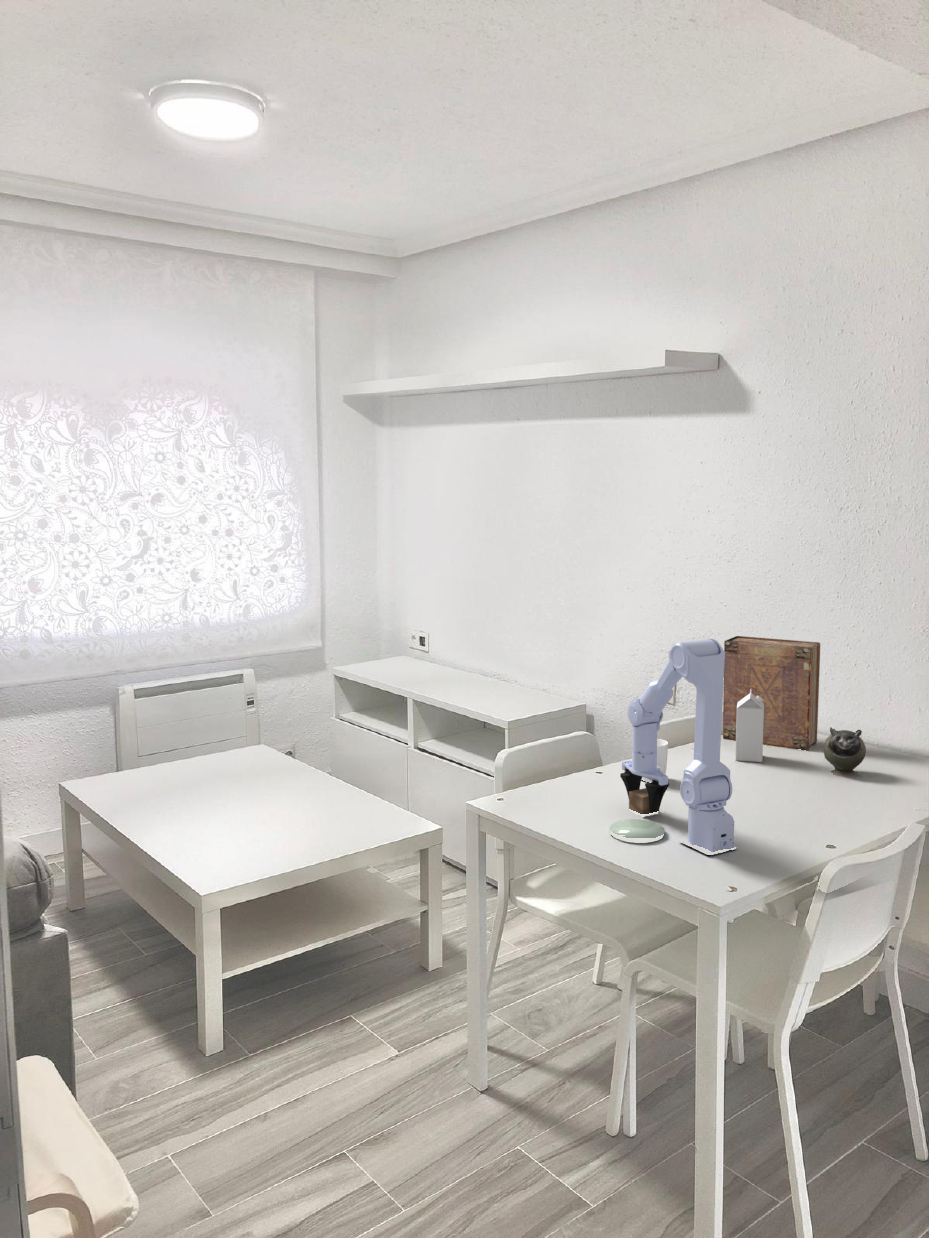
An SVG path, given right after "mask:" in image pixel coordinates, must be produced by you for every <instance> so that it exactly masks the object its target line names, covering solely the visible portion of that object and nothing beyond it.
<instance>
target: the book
mask: <svg viewBox="0 0 929 1238" xmlns="http://www.w3.org/2000/svg"><path fill="white" fill-rule="evenodd" d="M723 650H724V651H725V663H724V678H723V704H722V738H723V739H725V740H733V741H736V720H737V703H738V702H739V701H740V700H741V699H743V698H744V697H745V696H747V695H748V694H750V690H751V693H752V694H753V695H754V696H759V697H761V698H762V699H763V702H762V703H763V704H764V722H763V746H765V745H766V746H772V747H777V748H778V747H780V748H784V749H792V750H798V749H801V750H800V751H804V750H806V752H809V750H810V746H812V745H814V744H815V745H816V744H817V743H818V723H819V699H820V696H819V694H820V692H819V691H820V669H821V667H820V666H821V643H820V642H818V641H807V640H793V639H782V638H781V639H780V638H768V637H767V638H766V637H754V636H745V635H743V636H742V635H741V636H740V635H736V636H734V637H730V638H729V639H726V640H724V648H723ZM813 743H814V744H813Z"/></svg>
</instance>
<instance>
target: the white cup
mask: <svg viewBox="0 0 929 1238" xmlns="http://www.w3.org/2000/svg"><path fill="white" fill-rule="evenodd" d="M668 750H669V742H668V741H667V740H665V739H661V738H657V766H658V767H660V771H661V772H662V773H663V774H664V775H666V776H667V765H668V756H669V755H668V753H669V751H668ZM641 780H643V781H647V782H652V780H650V779H647V778H645V777H642V779H641ZM643 781H642V782H643ZM647 782H646V783H647Z"/></svg>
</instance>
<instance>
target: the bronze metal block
mask: <svg viewBox="0 0 929 1238" xmlns="http://www.w3.org/2000/svg"><path fill="white" fill-rule="evenodd" d="M629 809H631V810H633V811H636V812H638V813H640V814H649V813H652V812H650V808H649V797H648V792H647V789H646V787H645V788H644V787H643V788H640V789H639V790H634V791H630V792H629V798H628V810H629Z"/></svg>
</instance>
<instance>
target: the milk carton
mask: <svg viewBox="0 0 929 1238" xmlns="http://www.w3.org/2000/svg"><path fill="white" fill-rule="evenodd" d="M762 702H763V699H762V698H761V697H759V696H754V695H753V694H752V693H751V690H750V694H748V695H747V696H745V697H744V698H743V699H741V700H740V701H739V702H738V703H737V720H736V740H735V761H737V762H738V761H739V762H753V763H754V762H755V763H763V757H764V756H763V751H764V750H763V749H764V748H763V747H764V744H763V722H764V704H763V703H762Z"/></svg>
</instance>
